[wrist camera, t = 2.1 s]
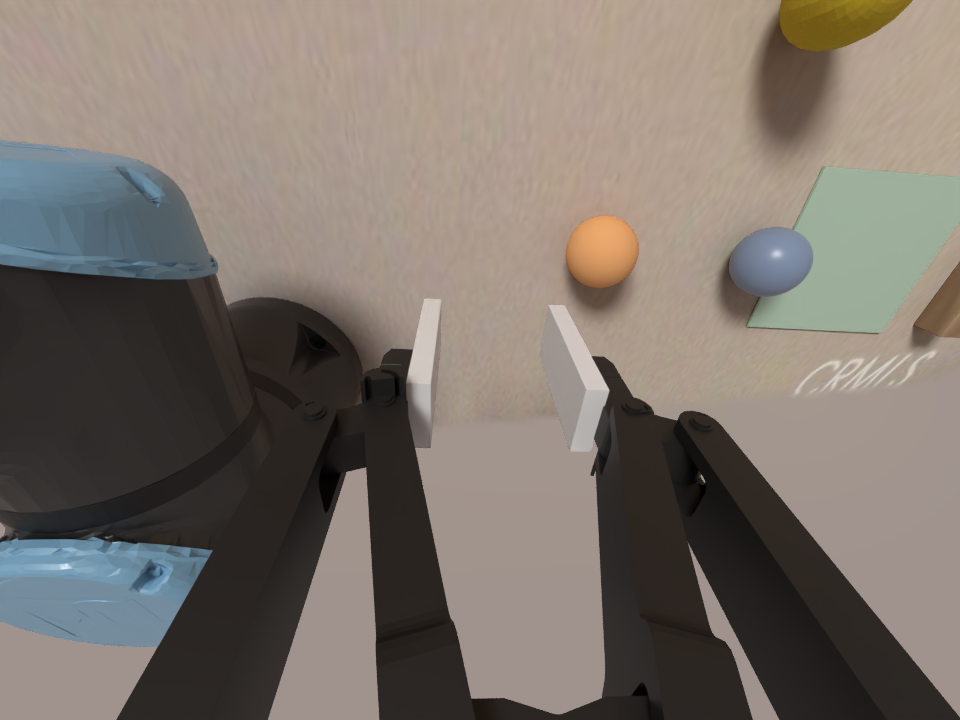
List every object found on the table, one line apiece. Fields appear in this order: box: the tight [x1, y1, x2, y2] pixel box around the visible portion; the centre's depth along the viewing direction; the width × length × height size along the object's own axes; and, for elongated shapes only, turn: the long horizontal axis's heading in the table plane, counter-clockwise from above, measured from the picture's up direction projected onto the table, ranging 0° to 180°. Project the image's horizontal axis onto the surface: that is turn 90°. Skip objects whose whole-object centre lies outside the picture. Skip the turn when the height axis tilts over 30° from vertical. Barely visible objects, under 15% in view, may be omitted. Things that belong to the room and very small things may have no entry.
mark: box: [746, 166, 960, 333], centre depth 35 cm, size 14×14×1 cm
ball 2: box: [729, 227, 813, 297], centre depth 32 cm, size 6×6×6 cm
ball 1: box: [566, 216, 639, 288], centre depth 31 cm, size 6×6×6 cm
